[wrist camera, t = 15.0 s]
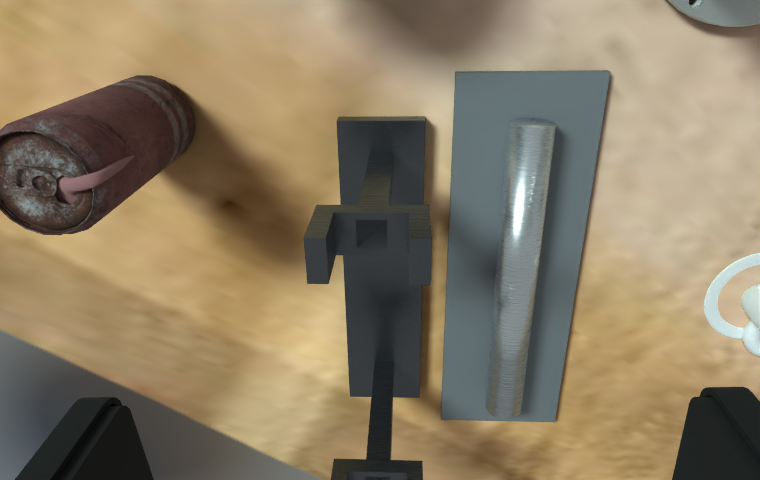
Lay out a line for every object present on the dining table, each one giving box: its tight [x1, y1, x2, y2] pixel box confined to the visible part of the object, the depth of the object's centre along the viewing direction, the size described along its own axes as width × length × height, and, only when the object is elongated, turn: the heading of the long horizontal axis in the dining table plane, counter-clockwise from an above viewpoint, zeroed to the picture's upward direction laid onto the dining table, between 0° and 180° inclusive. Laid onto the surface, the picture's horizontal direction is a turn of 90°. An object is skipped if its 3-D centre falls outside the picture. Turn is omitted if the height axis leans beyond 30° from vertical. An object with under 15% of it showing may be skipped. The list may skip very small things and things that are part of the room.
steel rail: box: [485, 118, 556, 419], centre depth 42 cm, size 24×3×3 cm, turn 1°
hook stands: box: [304, 116, 432, 480], centre depth 37 cm, size 6×24×16 cm, turn 1°
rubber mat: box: [441, 70, 610, 422], centre depth 43 cm, size 10×30×1 cm, turn 1°
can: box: [0, 75, 195, 235], centre depth 33 cm, size 6×6×14 cm
